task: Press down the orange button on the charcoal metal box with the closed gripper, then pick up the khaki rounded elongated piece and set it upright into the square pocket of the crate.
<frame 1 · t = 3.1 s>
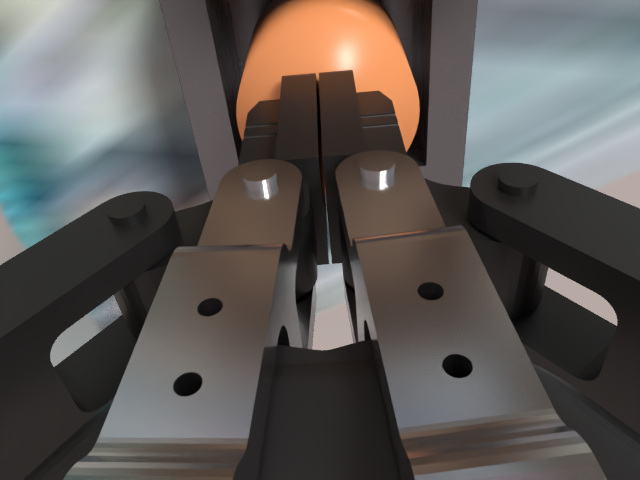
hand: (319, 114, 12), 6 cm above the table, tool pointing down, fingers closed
start button: (326, 86, 14), point 4 cm above the table, slide at 0.5 cm, touching gripper
button housing: (323, 30, 17), on the table
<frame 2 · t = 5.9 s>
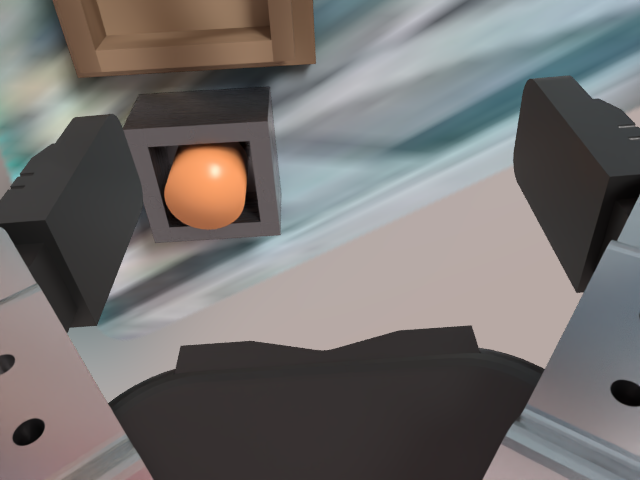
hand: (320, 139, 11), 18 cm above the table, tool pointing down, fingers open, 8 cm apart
start button: (208, 179, 30), point 3 cm above the table, slide at 1.1 cm
button housing: (215, 147, 32), on the table
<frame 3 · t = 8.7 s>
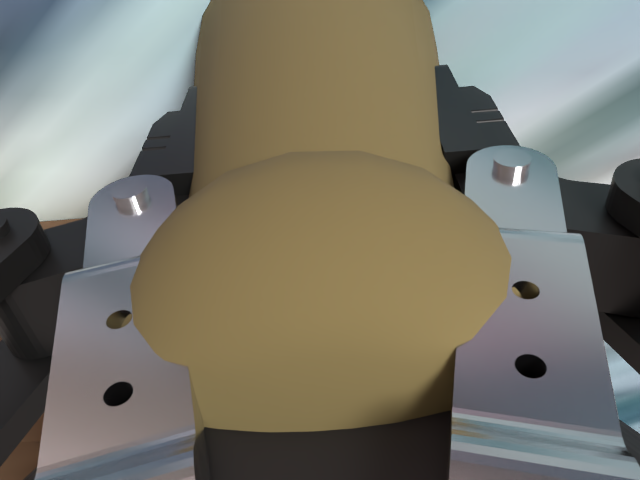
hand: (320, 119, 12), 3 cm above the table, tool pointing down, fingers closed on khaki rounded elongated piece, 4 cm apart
crate: (72, 353, 21), on the table
khaki rounded elongated piece: (316, 66, 14), on the table, touching gripper
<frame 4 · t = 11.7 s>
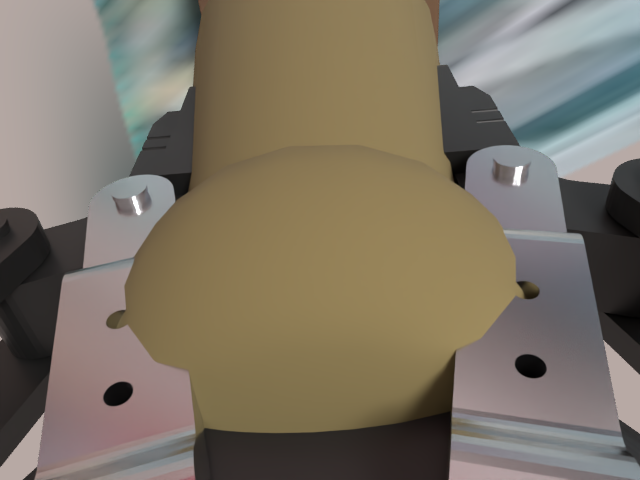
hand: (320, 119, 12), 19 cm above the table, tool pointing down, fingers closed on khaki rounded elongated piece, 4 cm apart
khaki rounded elongated piece: (316, 63, 14), point 16 cm above the table, touching gripper
when the fingers open (5 cm above the table, at t = 14.8 s): khaki rounded elongated piece stays where it is, resting on crate.
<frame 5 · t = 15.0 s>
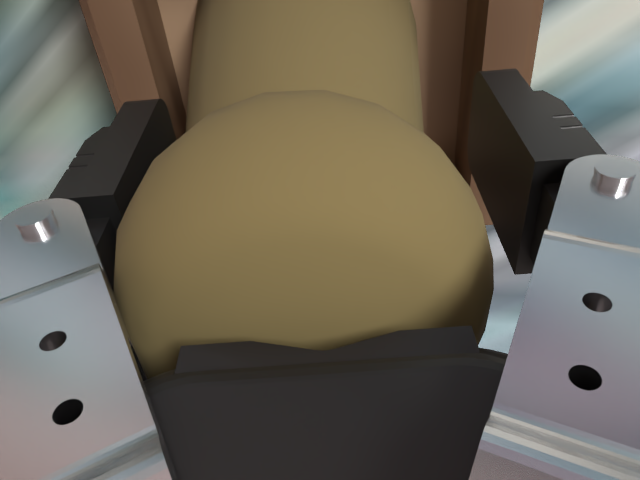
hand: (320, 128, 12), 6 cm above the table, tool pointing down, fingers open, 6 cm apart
crate: (316, 36, 16), on the table
khaki rounded elongated piece: (305, 44, 15), point 1 cm above the table, touching crate
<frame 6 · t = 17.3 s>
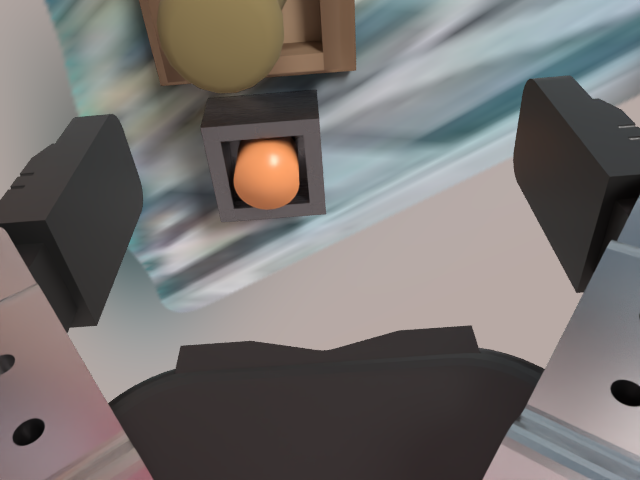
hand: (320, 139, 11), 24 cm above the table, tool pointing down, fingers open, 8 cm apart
start button: (267, 168, 36), point 3 cm above the table, slide at 1.1 cm
button housing: (268, 142, 38), on the table
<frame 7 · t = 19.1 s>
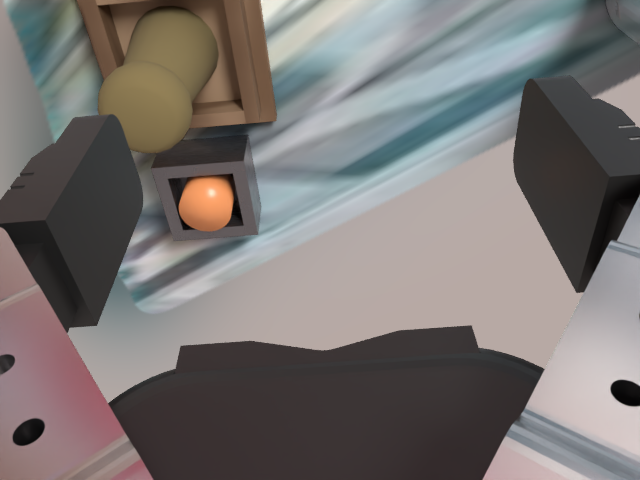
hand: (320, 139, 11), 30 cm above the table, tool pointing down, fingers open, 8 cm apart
start button: (208, 198, 44), point 3 cm above the table, slide at 1.1 cm
crate: (182, 45, 40), on the table
khaki rounded elongated piece: (175, 49, 40), point 1 cm above the table, touching crate
button housing: (213, 175, 47), on the table
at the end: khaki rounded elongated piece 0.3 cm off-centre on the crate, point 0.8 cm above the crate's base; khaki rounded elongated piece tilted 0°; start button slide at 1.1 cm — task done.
